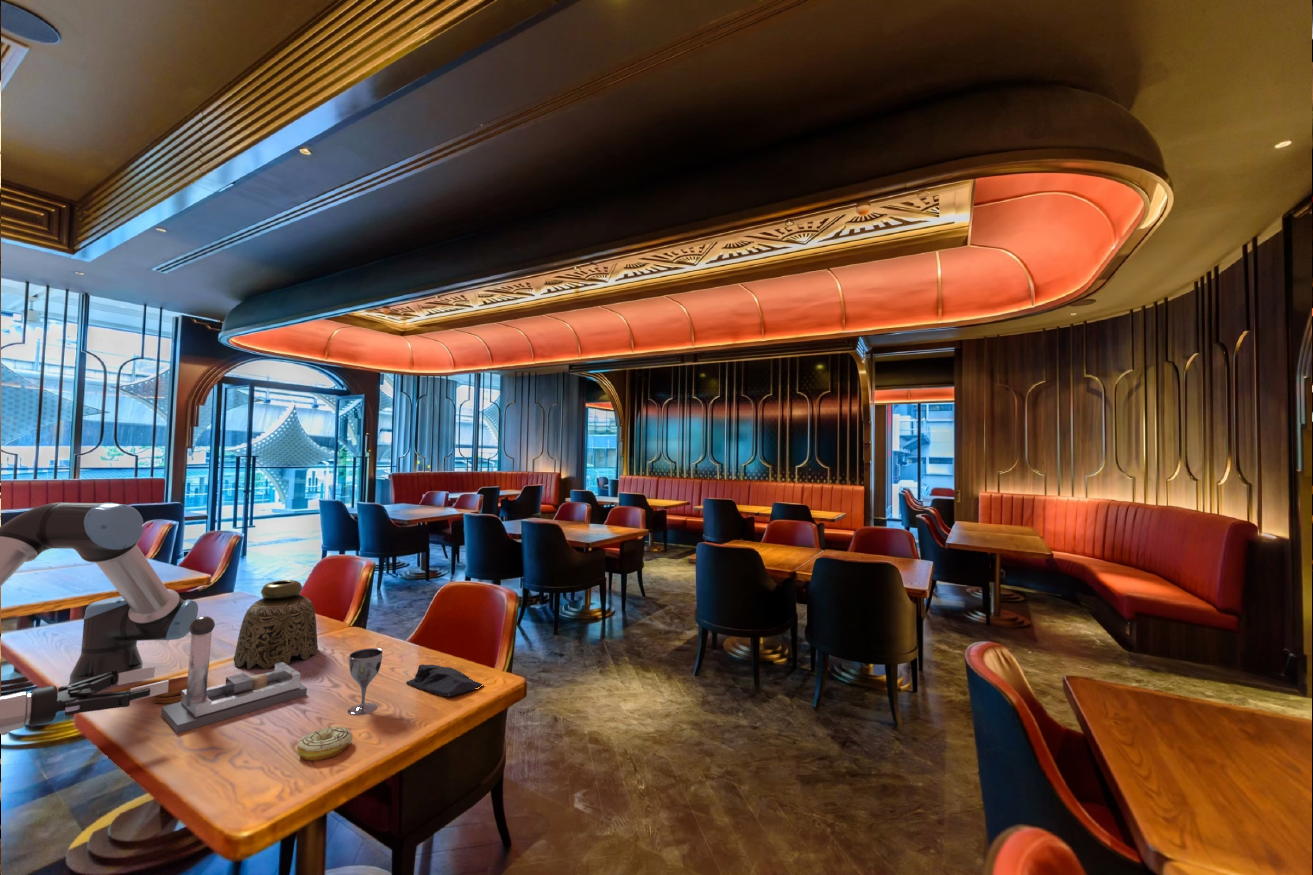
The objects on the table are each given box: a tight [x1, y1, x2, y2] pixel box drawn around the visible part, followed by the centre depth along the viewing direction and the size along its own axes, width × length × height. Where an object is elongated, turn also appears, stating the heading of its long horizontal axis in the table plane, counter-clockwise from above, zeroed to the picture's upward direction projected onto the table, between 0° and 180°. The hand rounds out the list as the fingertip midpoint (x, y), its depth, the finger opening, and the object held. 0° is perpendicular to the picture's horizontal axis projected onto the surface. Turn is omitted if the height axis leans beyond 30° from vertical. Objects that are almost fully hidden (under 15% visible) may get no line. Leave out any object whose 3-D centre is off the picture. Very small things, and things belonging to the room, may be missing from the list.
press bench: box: [160, 680, 308, 734], centre depth 142 cm, size 15×28×2 cm, turn 144°
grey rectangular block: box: [225, 672, 253, 698], centre depth 143 cm, size 7×4×5 cm, turn 54°
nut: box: [249, 673, 268, 691], centre depth 146 cm, size 4×4×4 cm
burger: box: [152, 676, 188, 705], centre depth 146 cm, size 10×9×5 cm
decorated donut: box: [296, 726, 353, 762], centre depth 122 cm, size 10×11×4 cm
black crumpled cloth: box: [405, 664, 483, 698], centre depth 160 cm, size 15×22×5 cm
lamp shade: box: [233, 579, 319, 670], centre depth 178 cm, size 23×23×25 cm
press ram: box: [180, 615, 302, 717], centre depth 144 cm, size 13×24×23 cm, turn 144°
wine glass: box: [347, 647, 383, 716], centre depth 143 cm, size 8×8×15 cm
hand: (161, 678), depth 130 cm, fingers open, 13 cm apart
